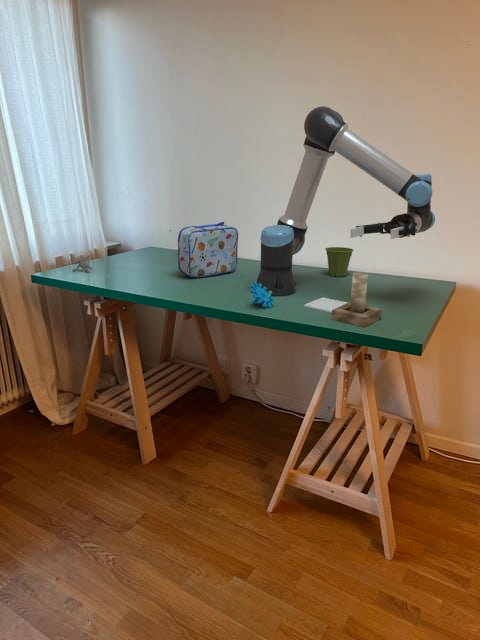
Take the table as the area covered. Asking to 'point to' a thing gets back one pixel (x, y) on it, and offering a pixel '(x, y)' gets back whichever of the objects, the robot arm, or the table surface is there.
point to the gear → (261, 295)
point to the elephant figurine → (82, 264)
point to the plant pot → (338, 260)
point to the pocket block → (356, 315)
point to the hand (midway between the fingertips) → (370, 233)
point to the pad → (325, 304)
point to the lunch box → (207, 250)
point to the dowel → (358, 292)
